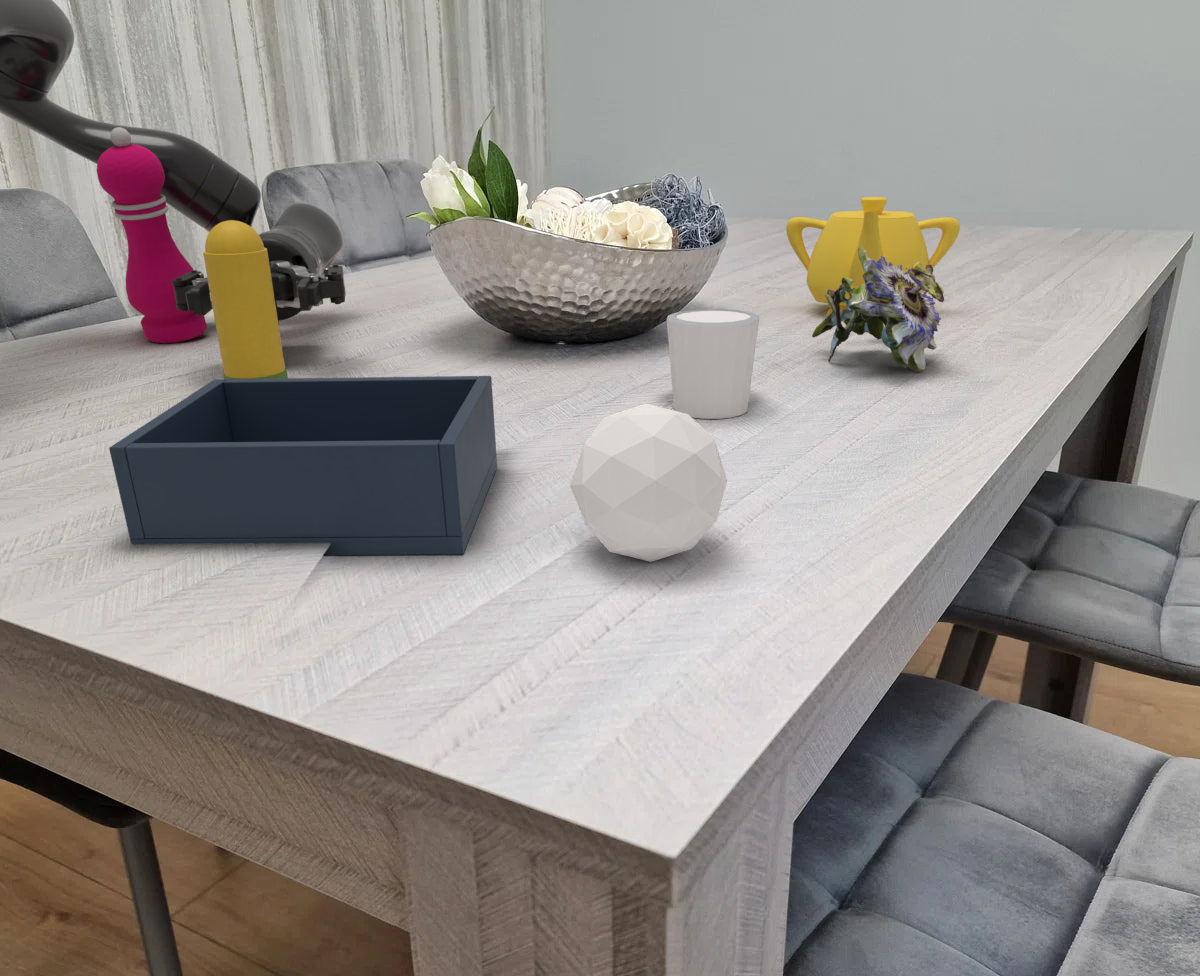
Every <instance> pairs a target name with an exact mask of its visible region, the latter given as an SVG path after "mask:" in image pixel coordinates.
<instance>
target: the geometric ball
mask: <svg viewBox="0 0 1200 976" xmlns="http://www.w3.org/2000/svg"><path fill="white" fill-rule="evenodd" d="M727 483H728V479H727V475H726V472H725V469H724V465H723V461H722V459H721V455H720V452H719V449H718V445H717V442H716V439H715V438H714V437H713V436H712V435H711V434H710V433H708V432H707V431H706V429H704V428H703V427H702V426H701V424H699V423H698V422H697V421H696V420H695V419H694V418H693V417H691V416H689V415H688V414H685V413H682V412H678V411H674V409H669V408H665V407H662V406H658V405H653V404H649V403H644V404H640V405H637V406H634V407H631V408H628V409H625V410H622V411H619V412H616V413H612V414H610V415H606V416H604V417H603V418H602V420H601V421H600V423H599V424H598V425H597V427H596V428H595V429H594V430H593V431H592V433H591V434H590V435H589V437H588V438H587V439H586V441H585V442H584V443H583V445H582V449H581V452H580V454H579V457H578V461H577V464H576V467H575V470H574V472H573V475H572V479H571V481H570V485H569V487H570V489H571V493H572V494H573V497H574V499H575V501H576V504H577V507H578V510H579V511H580V515H581V516H582V519H583V521H584V524H585V525H586V527H587V528H588V529H589V530H590V531H591V533H593V535H594V536H595V537H596V538H597V539H598V540H599V542H600V543H601V544H602V545H603V546H604V547H605V549H607V550H608V552H610V553H614V554H617V555H621V556H624V557H625V556H626V557H630V558H634V559H638V560H641V561H645V562H650V563H652V562H656V561H658V560H662V559H664V558H668V557H672V556H674V555H677V554H681V553H683V552H686V551H689V550H692V549H693V548H695V546H696V545H697V544H698V543H699V541H700V540H701V539H702V538H703V537H704V536H705V535H706V534H707V532H709V530H710V529H711V528H712V527H713V526H714V524H716V522H717V521H718V517H719V514H720V509H721V506H722V502H723V499H724V494H725V490H726V487H727Z"/></svg>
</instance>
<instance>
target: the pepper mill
mask: <svg viewBox="0 0 1200 976" xmlns="http://www.w3.org/2000/svg"><path fill="white" fill-rule="evenodd" d="M110 138H111V141H112V142H113V144H114V145H116V146H114V147H111V148H109V149H107V150H106V151H105V152H103V153H102V155H101V156H100V157H99V160H98V162H97V164H96V175H97V179H98V183H99V185H100V187H101V188H102V189H103V190H104V192H106V193H107V194H108V195H109V196H111V198H112V199H113V201H112V202H111V206H112V208H113V209H114V217H115V218H117V220H120V221H121V224H122V226H123V229H124V232H125V237H126V242H127V251H128V253H127V264H126V273H125V290H126V296H127V300H128V303H129V305H130V306H131V307H132V308H133V309H135V311H137V312H138V313H140V314H141V315H143V317H142V318H141V320H140V325H141V329H142V332H143V335H144V338H145V339H146V341H149V342H152V343H155V344H156V343H157V344H173V343H180V342H185V341H189V340H191V339H194V338H197V337H199V336H201V335H202V334H204V333H205V332H206V330H207V327H208V324H207V321H206V318H205V315H203V316H196V315H195V313H194V311H189V310H188V311H182V310H177V306H176V304H177V303H176V298H175V293H174V287H173V285H172V280H174V279H176V278H178V277H180V276H182V275H184V274H186V273H188V272H191V271H192V270H194V267H193V266H192V265H191V264H190V263H189V261H188V259H186V257H185V256H184V255H183V254H182V252H181V251H180V249H179V247H178V246H177V244H176V242H175V240H174V239H173V237H172V233H171V230H170V227H169V225H168V220H167V214H166V213H167V212H168V211H169V205H168V204H167V203H166V202H165V201H166V197H165V196H164V195H162V194H160V191H161V189H162V187H163V185H164V181H165V174H164V170H163V167H162V164H161V162H160V161H159V159H158V158H157V156H156V155H155V154H154V153H153V152H151V151H150V150H149V149H147V148H145V147H142V146H140V145H135V144H130V142H131V136H130V134H129V132H128V131H127V130H126V129H124V128H121V127H117V128H114V129H113V130H112V131H111V134H110Z"/></svg>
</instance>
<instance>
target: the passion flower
mask: <svg viewBox="0 0 1200 976" xmlns="http://www.w3.org/2000/svg"><path fill="white" fill-rule="evenodd" d="M866 254H867V252H866V251H865V250H864V249H863V248H860V247H859V248H858V255H859V259H860V262H861V265H862V268H863V270H864V272H865V273H864V274H863V279H864V280H865V282H864V283H863V284H862V285H861V286H860V287H859V288H857V289H855V288H853V289H851V287H850V286H851V284H852V283H853V281H854V280H852V279H847V278H846V277H844V278H842V284H841V285H840V288H838V289H837V290H836V291H834V290H830V289H829V290H827V292H826V295H825V297H826V299H827V301H828V304H827V305H830V307H831V308H832V310H833V311H832V313H831V314H830V315H829V316H828V317H825V318H824V319H823V320H822V321H821V323H819V324H818V325H817V326H816V327H815V329H814V330H813V332H812V334H811V337H812V338H817V337H819V336H821V335H822V334H825V332H828V331H830V330H832V329H833V328H834V327H835V330H834V333H833V336H832V340H831V342H830V349H829V350H830V351H829V357H828V362H829V363H830V362H831V360H832V358H833V356H834V355H835V352H836V350H837V347H839V346H840V345H841V344H842V343H845V342H846V341H847V340H848V339H849V338H850V335H851V333H852V332H853V333H855V334H856V335H858V336H862V335H864V334H865V333H868V334H869V335H871V336H872V337H874V338H875V339H876V340H881V341H882V343H883V344H884V346H886V347H887V348H888V349H890V351H891V355H892V357H893V360H894V361H895V362H896V363H897V364H898V365H900V366H901V367H902V368H904V369H907V368H909V369H910V370H911V371H913V372H917V373H923V372H924V371H925V369H926V365H927V364H926V358H925V349H929V350H932V351H933V350H936V349H937V346H938V345H937V343H936V340H935V336H934V335H935V332H939V330H938V326H940V321H941V319H942V317H940V313H939V312H937V311H935V309H936V307H935V305H936V302H935V301H934V300H937V301H938V302H940V303H943V302H944V301H945V297H944V294H945V291H944V289H943V288H942V286H941V285H940V284H939V283H938V282H937V281H936V276H935V275H934V274H933V273H934V268H933V267H932V266H931V265H926V268H925V269H924V268H922V264H921V262H917V263H915V264H914V265H913V266H912V268H908V273H907V272H905V273H904V274H903V271H902V265H900V268H899V266H898V265H897V266H896V267H893V265H892V263H891V262H889V265H888V264H887V262H886V260H885V257H883V256H881V259H879V260H878V261H877V262H875V261H874V260H873V259H869V258H868V257H867V255H866ZM906 269H907V268H906ZM922 290H923V291H924V292H922ZM846 293H849V295H850V298H849V299H846V298H845V294H846ZM827 294H829V295H830V297H831V299H832V302H831V301H830V298H829V296H828V295H827ZM927 294H928V295H927ZM841 302H843V303H845V304H846V306H847V309H843V310H840V305H839V304H840V303H841ZM830 307H829V308H830ZM842 322H843V323H842ZM843 324H844V325H845V326H843Z"/></svg>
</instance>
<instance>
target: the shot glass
mask: <svg viewBox="0 0 1200 976" xmlns="http://www.w3.org/2000/svg"><path fill="white" fill-rule="evenodd" d="M759 324H760V315H758V314H757V313H754V312H750V311H745V310H738V309H728V308H702V309H701V308H700V309H690V310H683V311H677V312H673V313H671V314H668V315H667V317H666V325H667V326H666V329H667V340H668V341H667V342H668V352H669V353H668V354H669V365H670V376H671V377H670V378H671V390H672V400H673V401H672V402H673V410H674V411H678V412H682V413H685V414H688V415H689V416H691V417H692V418H693V419H694V418H696V419H701V420H702V419H703V420H706V419H707V420H720V419H731V418H734V417H739V416H742V415H744V414H745V413H748V409H749V400H750V392H751V385H752V378H753V370H754V363H755V356H756V355H755V354H756V348H757V342H758V341H757V339H758V331H759Z"/></svg>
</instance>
